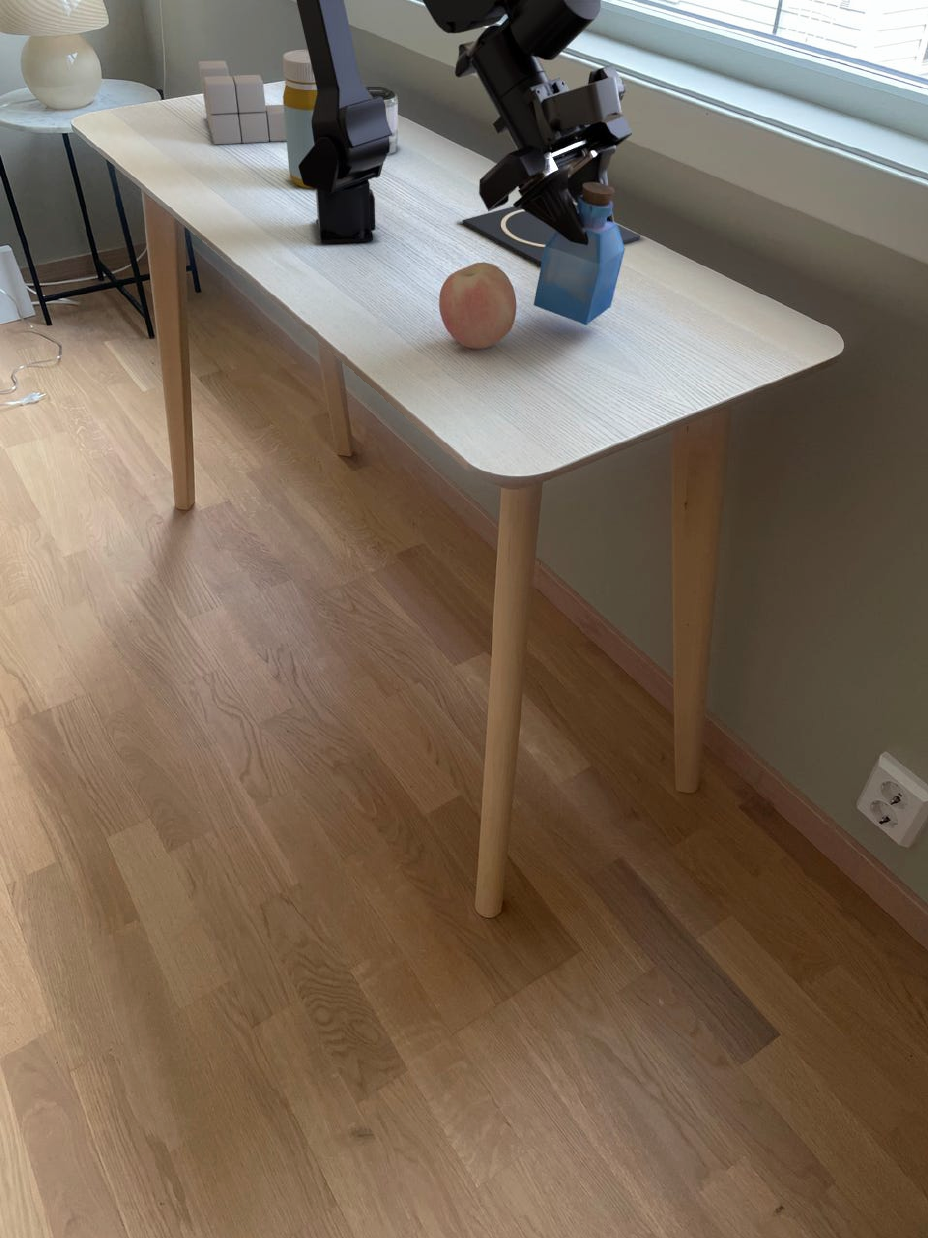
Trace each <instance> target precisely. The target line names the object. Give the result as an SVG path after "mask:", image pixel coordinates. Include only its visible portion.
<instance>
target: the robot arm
mask: <svg viewBox="0 0 928 1238" xmlns="http://www.w3.org/2000/svg"><path fill="white" fill-rule="evenodd" d="M295 1H296V5H297V9H298V14H299V17H300V22H301V27H302V30H303V36H304V39H305V42H306V43H305V44H306V49H307V50H308V52H309V57H310V61H311V65H312V69H313V74H314V78H315V82H316V87H317V97H316V101H315V106H314V111H313V115H312V120H311V124H312V132H313V139H314V146H313V147H312V149H311V150H310V151H309V152H308V154H307V155H306V156H305V157H304V159H303V160H302V161H301V163H300V164H299V166H298V167H299V171H300V174H301V178H302V181H303V184H304V185H306V186H309V187H311V188H314V189H313V190H315V201H316V202H315V203H316V213H317V214H316V215H317V219H315V224H316V228H317V229H316V230H317V234H318V238H319V243H322V244H337V243H338V244H340V243H361V242H362V243H363V242H364V243H365V242H373V241H374V239H375V238H374V234H373V232H375V230H376V227H377V226H376V198H375V194H374V192H373V190H372V188H371V187H370V186H371V184H370V180H372V179H374V178H375V179H376V178H380V177H381V174H382V170H383V165H384V162H385V161H386V159H387V156H388V155H389V154H388V153H389V151H390V142H389V136H391V135H392V132H391V130H390V128H389V125H388V121H387V117H386V107H385V102H384V100H383V98H382V97H381V96H379V97H375V98H373V97H372V96H371V94H370V93H369V92H368V90H367V89H366V88H365V87H366V86H365V85H364V84H363V82H362V79H361V76H360V71H359V70H360V69H359V66H358V61H357V57H356V52H355V51H356V50H355V47H354V42H353V37H352V33H351V29H350V24H349V18H348V14H347V9H346V3H345V0H295ZM421 1H422V2H423V5H424V6H425V8H426V9H427V11H428V13H429V14H430V16H431V18H432V20H433V21H434V23H435V24H436V26H437V27H438V28H439V29H441V30H442V32H445V33H446V34H461V33H465V32H470V31H473V30H477V29H481V28H484V27H486V28H485V30H483V32H482V33H480V35H479V36H478V37H477V38H476V40H475V41H474V40H471V41H467V42H464V43H461V44H459V45H458V56H457V60H456V63H455V70H454V74H455V77H456V78H462V77H465V76H469V75H472V74H476V75H477V77H478V79H479V81H480V82H481V85H482V86H483V88H484V90H485V92H486V94H487V96H488V98H489V99H490V102H491V104H492V105H493V107H494V109H495V111H496V113H497V115H498V118H497V119H496V120H495V121H494V122H493V123H492V125H493V127H494V129H495V131H496V133H497V134H502V133H503V132H507V134H508V136H509V138H510V139H511V141H512V143H513V145H514V147H515V149H516V150H515V151H511V152H509V153H507V154H506V155H505V156H504V157H503V158H501V160H499V161H498V162H497V163H496V164H495V165H494V166H493V167H492V168H491V169H490V170H489V171H487V172H486V173H485V174H484V175H483V176H482V177H481V178H480V179H479V182H478V183H479V184H478V196H479V198H480V199H481V200H482V202H483V204H484V206H485V208H486V209H487V212H492V211H493V210H495V209H497V208H500V207H502V206H504V205H506V204H507V203H508V202H509V199H510V194H512V193H513V192H514V191H515V190H516V189H517V188H518V190H517V192H518V193H519V195H520V198H518V199H517V200H515V202H514V203H513V204H512V207H513V206H514V207H515V209H518V208H521V209H523V210H525V211H526V212H528V213H529V214H531V215H533V216H534V217H536V218H538V219H539V220H541V221H542V222H544V223H545V224H547V225H548V226H550V227H551V228H553V229H554V230H555V231H557V232H558V233H559V234H561V235H562V236H564V237H565V238H566V239H568V240H569V241H570V242H574V243H578V244H583V245H588V236H587V233H586V230H585V228H584V225H583V223H582V221H581V218H580V216H579V214H578V212H577V209H576V207H575V205H576V204H577V203H578V198H579V196H581V195H583V184H584V183H587V182H596V183H602V184H605V185H608V186H609V181H608V169H609V165H610V162H611V160H612V159H611V158H612V156H613V155H614V154H615V153H616V151H617V147H618V146H619V145H621V144H622V143H623V142H624V141H626V140H628V138H630V137H631V136H632V135H633V131H632V129H631V126H630V124H629V123H628V121H627V119H626V117H625V115H623V114H622V113H623V112H622V107H621V101H622V100H623V98H624V96H625V93H626V91H627V85H626V84H625V82H623V80H622V78H621V76H620V74H619V73H618V72H617V70H616V68H615V67H614V66H613V64H609V65H606V66H603V67H600V68H597V69H594V70H592V71H591V70H590V72H589V74H588V81H587V84H584V85H582V86H579V87H576V88H572V89H569V87H568V85H567V83H566V82H565V80H563V79H562V78H561V77H558V78H555V79H552V80H551V79H550V77H549V75H548V73H547V71H546V69H545V67H544V65H543V63H542V61H541V60H540V59H542V60H545V61H553V60H555V59H556V58H557V57H558V56H559V55H560V54H561V53H562V52H563V51H564V50H565V49H566V48H567V47H569V45H570V44H571V43H573V42H574V40H575V39H577V38H578V36H580V35H581V34H582V33H583V32H584V31H585V30H586V29H587V28H588V27H589V26H590V25H591V24H592V23H593V22H594V21H595V20H596V19H597V18H598V17H599V16H600V14H601V10H602V0H421ZM505 15H506V16H507V17H506V19H505V20H504V21H503V22H502V23H501V24H500V25H498V24H497V23H498V22H500V21H501V20H502V19H503V18H504V16H505ZM496 24H497V25H496ZM387 154H388V155H387ZM311 188H310V189H311ZM574 201H575V202H576V204H575V203H574ZM574 204H575V205H574ZM607 221H610V222H613V223H615V219H614V213H613V211H612V212H611V215H610V216H608V217H607Z"/></svg>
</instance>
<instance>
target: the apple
mask: <svg viewBox="0 0 928 1238" xmlns="http://www.w3.org/2000/svg"><path fill="white" fill-rule="evenodd" d="M516 297H517V296H516V293H515V288H514V286H513V284H512V282H511V279H510V278H509V277H508V276H507V274H506V273H505V272H504V271H503V270H502V269H501V268H500V267H498V266H497V265H495V264H493V263H489V262H484V261H483V262H476V263H474V264H470V265H468V266H465V267H463V268H459V269H458V270H456V271H454V272H452V273H451V274H449V275H448V277H447V278H446V279H445V281H444V282H443V284H442V286H441V289H440V291H439V296H438V309H439V315H440V317H441V320H442V323H443V325H444V328H445V329H446V331H447V332H448V334H449V335H450V336H451V337H452V338H453V339H454V340H455V341H456V342H457V343H459V344H460V345H462V347H463V346H464V347H465V348H468V349H473V350H475V349H476V350H478V349H479V350H482V349H483V350H484V349H487V348H490V347H492V346H494V345H495V344H497V343H498V342H500V341H501V340H502V339H504V338H505V336H506V335H508V333H509V332H510V331H511V330H512V328H513V326H514V323H515V321H516V315H517V298H516Z"/></svg>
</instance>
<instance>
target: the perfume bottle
mask: <svg viewBox="0 0 928 1238" xmlns="http://www.w3.org/2000/svg"><path fill="white" fill-rule="evenodd" d="M615 191H616V190H615V189H614V187H612V186H610V185H609V184H608V185H605V184H602V183H596V182H587V183H584V184H583V195H581V196H579V198H578V203H577V202H576V205H577V210H578V211H579V212H578V214H579V216H580V218H581V221H582V223H583V225H584V228H585V230H586V233H587V236H588V245H583V244H578V243H574V242H570V241H569V240H568V239H566V238H565V237H564V236H562V235H561V234H559V233H558V232H556V233H555V234H554V235H553V237H552V238H551V239H550V240H549V242H548V243H547V244H546V245H545V248H544V254H543V259H542V264H541V266H540V270H539V275H538V280H537V284H536V290H535V295H534V301H533V306H534V307H537V308H539V309H542V310H545V311H548V312H549V313H553V314H555V315H558V316H560V317H563V318H565V319H568V320H571V321H574V322H577V323H579V324H581V325H583V326H588V325H589V324H590V323H592V322H593V321H594V320H595V319H597V318H598V317H600V316H601V315H602V314H603V313H605V312H606V311H608V309H609V308H611V306H612V303H613V298H614V294H615V291H616V286H617V282H618V279H619V276H620V272H621V271H620V270H621V268H622V267H621V266H622V263H623V258H624V254H625V251H626V248H625V244H623V241H622V238H621V235H620V232H619V229H618V226H617V225H618V223H615V222H614V223H613V222H610V221H607V217H608V216H610V215H611V212H612V213H613V207H614V202H613V201H612V199H613V196H614V194H615Z"/></svg>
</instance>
